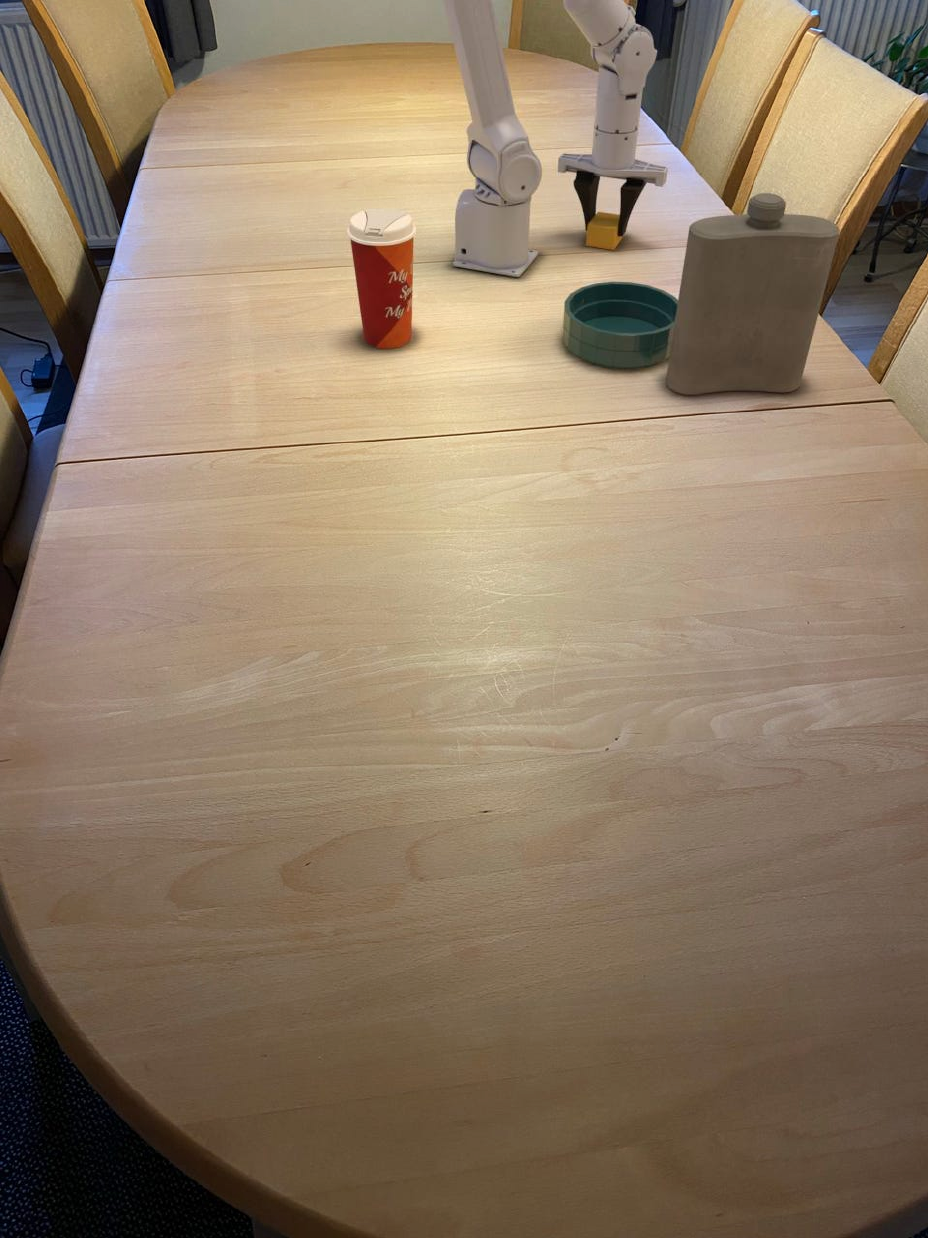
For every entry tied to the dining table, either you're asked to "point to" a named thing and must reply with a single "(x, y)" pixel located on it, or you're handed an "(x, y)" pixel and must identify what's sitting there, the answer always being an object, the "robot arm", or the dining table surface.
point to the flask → (749, 299)
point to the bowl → (619, 324)
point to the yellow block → (603, 231)
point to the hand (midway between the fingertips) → (605, 231)
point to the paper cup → (384, 274)
